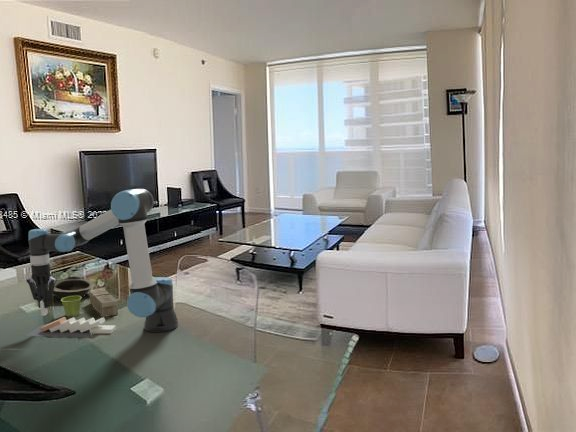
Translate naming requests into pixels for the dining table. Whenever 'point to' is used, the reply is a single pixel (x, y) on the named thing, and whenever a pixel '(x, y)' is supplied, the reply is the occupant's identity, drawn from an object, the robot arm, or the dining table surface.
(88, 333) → the felt runner
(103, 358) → the dining table surface
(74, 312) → the plant pot
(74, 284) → the stone bowl
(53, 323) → the domino
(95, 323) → the domino
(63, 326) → the domino
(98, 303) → the block tower
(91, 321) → the domino
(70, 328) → the domino
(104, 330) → the domino
